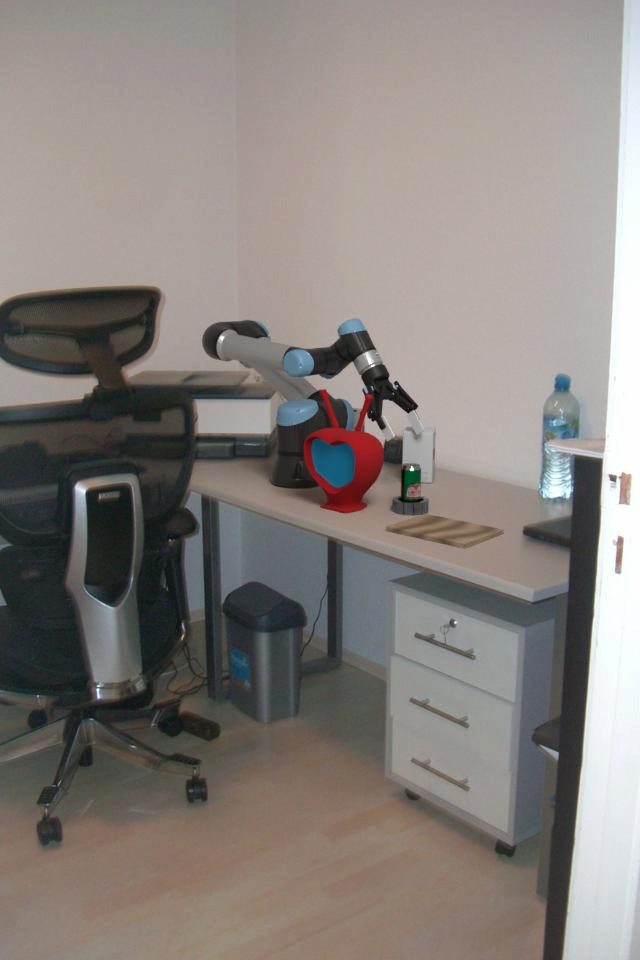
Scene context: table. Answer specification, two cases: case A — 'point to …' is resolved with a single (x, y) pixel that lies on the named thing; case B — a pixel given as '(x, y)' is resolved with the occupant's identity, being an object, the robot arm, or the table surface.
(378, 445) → the novelty television
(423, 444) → the supplement box
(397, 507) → the sleeve
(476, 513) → the table surface
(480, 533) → the walnut board
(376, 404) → the robot arm
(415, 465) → the soda can
